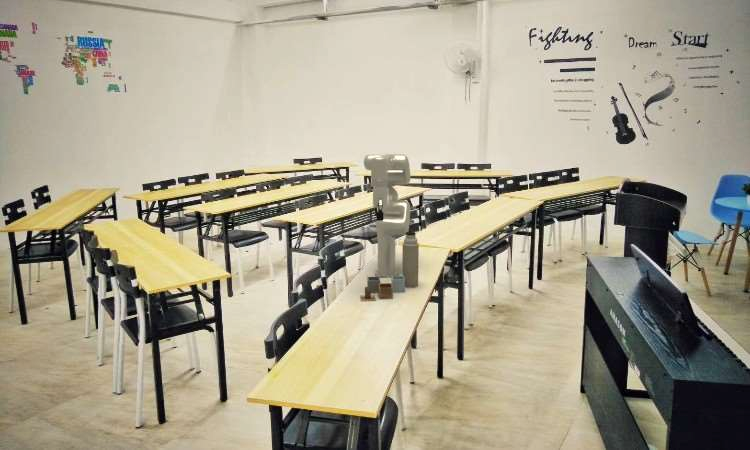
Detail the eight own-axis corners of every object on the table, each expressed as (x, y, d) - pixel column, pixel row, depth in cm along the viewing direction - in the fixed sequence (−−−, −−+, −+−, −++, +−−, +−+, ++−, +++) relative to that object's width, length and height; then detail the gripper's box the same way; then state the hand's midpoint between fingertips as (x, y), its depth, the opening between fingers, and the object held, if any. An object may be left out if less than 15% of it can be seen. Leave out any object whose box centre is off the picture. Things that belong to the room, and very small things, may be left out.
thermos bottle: (418, 284, 275) (419, 230, 269) (416, 289, 268) (417, 234, 261) (403, 283, 277) (403, 230, 271) (401, 288, 269) (401, 233, 263)
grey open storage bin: (367, 290, 267) (367, 276, 265) (379, 289, 267) (379, 276, 266) (367, 294, 261) (367, 280, 259) (380, 294, 261) (380, 280, 260)
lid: (360, 297, 257) (359, 285, 256) (374, 297, 258) (374, 285, 257) (360, 303, 251) (360, 290, 249) (375, 302, 251) (375, 290, 250)
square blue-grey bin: (391, 289, 268) (391, 276, 266) (403, 289, 268) (403, 275, 267) (392, 293, 262) (392, 279, 260) (404, 293, 262) (405, 279, 261)
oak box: (378, 295, 260) (378, 283, 258) (391, 295, 260) (391, 283, 259) (379, 300, 253) (379, 288, 252) (392, 299, 254) (392, 287, 252)
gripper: (369, 180, 263) (370, 214, 267) (372, 185, 247) (372, 222, 250) (385, 180, 264) (385, 214, 268) (388, 185, 247) (388, 222, 251)
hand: (379, 218), depth 259 cm, fingers open, 9 cm apart
